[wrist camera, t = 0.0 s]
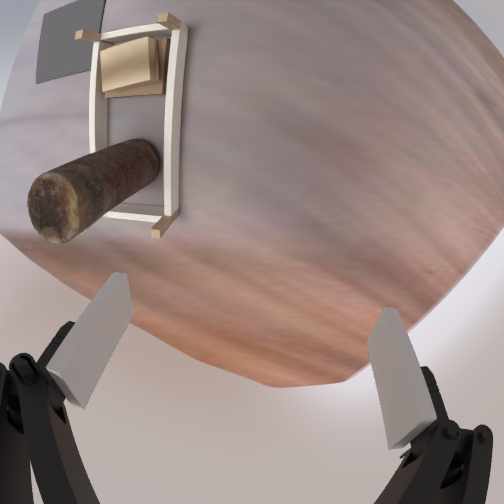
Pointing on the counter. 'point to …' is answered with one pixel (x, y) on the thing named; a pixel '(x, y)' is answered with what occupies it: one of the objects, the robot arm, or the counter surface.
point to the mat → (67, 39)
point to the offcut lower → (152, 87)
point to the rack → (172, 114)
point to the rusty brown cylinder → (89, 188)
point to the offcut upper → (129, 64)
